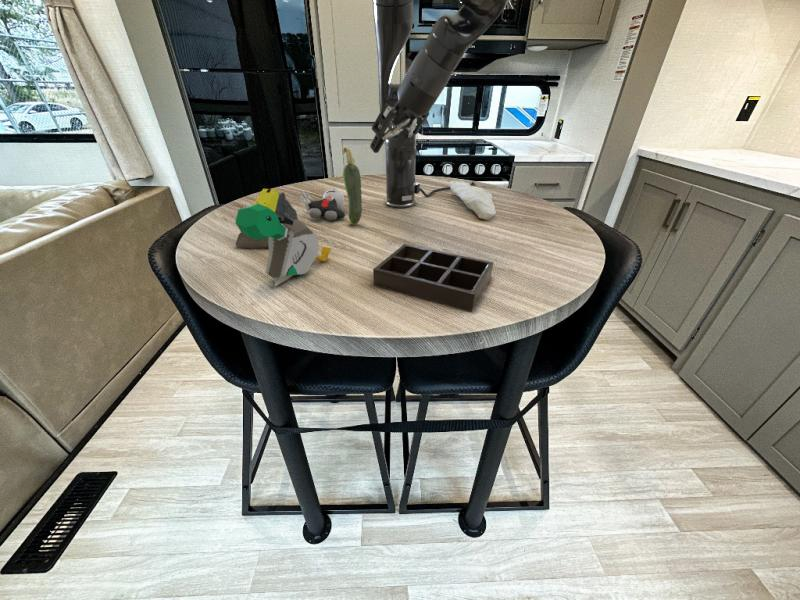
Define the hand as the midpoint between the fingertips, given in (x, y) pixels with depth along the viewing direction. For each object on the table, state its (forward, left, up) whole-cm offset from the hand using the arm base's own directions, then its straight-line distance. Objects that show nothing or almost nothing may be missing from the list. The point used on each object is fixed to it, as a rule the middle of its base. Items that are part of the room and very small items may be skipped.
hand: (385, 148), depth 75 cm
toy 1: (+28, -6, -21) cm, 35 cm away
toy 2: (-4, -24, -21) cm, 32 cm away
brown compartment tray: (+19, +21, -20) cm, 35 cm away
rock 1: (+18, -23, -21) cm, 36 cm away
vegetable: (0, -10, -21) cm, 23 cm away
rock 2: (-33, +15, -21) cm, 42 cm away
